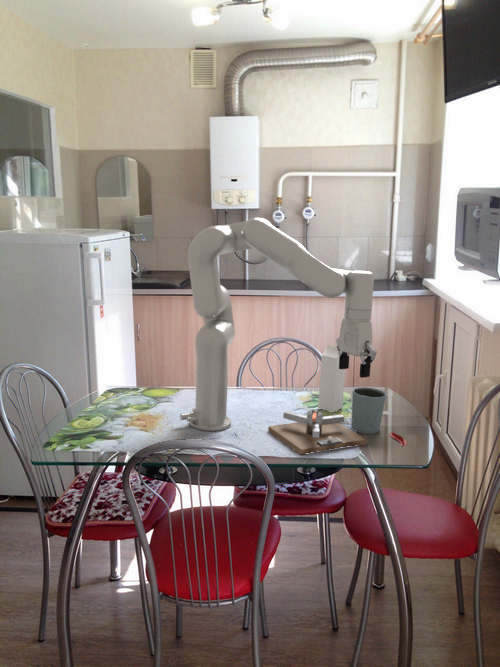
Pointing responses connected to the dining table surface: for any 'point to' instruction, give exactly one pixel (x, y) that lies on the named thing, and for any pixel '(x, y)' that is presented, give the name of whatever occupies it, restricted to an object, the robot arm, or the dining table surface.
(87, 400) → the dining table surface
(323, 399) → the milk
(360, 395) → the grey-green cup
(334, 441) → the level window
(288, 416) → the capstan
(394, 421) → the dining table surface
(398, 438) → the cayenne pepper
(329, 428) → the board
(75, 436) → the dining table surface
